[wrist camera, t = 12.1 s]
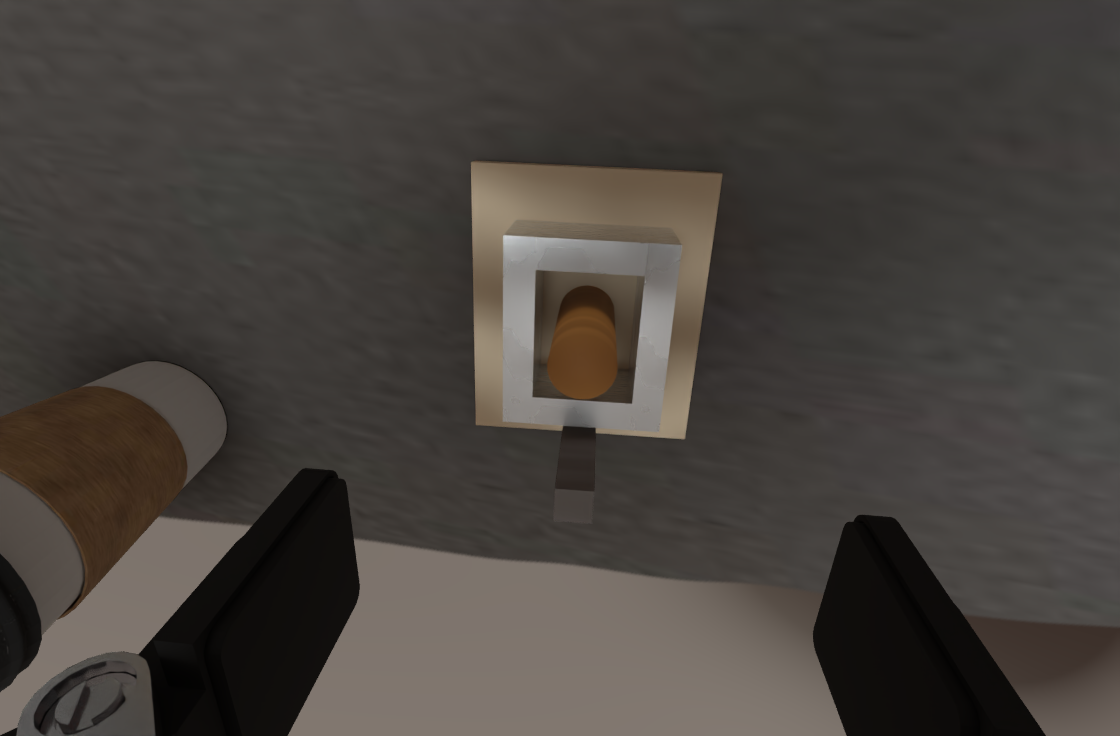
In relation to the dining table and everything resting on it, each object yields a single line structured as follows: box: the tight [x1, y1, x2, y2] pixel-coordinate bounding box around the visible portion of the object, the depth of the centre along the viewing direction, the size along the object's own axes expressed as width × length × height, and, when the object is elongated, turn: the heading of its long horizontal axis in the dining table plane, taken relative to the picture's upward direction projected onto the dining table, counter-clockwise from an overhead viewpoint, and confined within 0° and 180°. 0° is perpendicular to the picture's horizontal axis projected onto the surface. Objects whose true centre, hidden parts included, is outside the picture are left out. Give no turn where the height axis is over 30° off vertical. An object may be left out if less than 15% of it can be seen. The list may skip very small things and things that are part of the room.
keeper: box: [471, 161, 723, 524], centre depth 23 cm, size 12×10×8 cm
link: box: [503, 220, 682, 432], centre depth 24 cm, size 8×6×4 cm
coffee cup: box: [0, 361, 227, 692], centre depth 23 cm, size 8×8×15 cm
